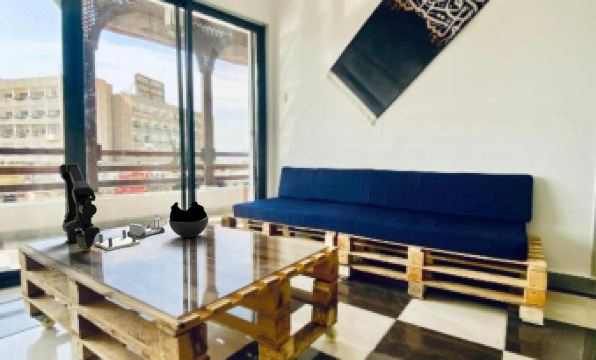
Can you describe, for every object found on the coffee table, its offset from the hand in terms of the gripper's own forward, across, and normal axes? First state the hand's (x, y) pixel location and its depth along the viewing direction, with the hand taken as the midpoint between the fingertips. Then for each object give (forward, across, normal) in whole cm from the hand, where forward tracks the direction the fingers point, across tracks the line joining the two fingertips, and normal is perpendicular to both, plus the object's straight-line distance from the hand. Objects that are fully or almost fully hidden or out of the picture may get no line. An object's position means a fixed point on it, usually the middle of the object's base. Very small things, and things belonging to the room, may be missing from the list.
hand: (86, 246), depth 158 cm
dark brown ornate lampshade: (+2, 0, 0) cm, 2 cm away
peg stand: (+2, 0, +14) cm, 14 cm away
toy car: (+3, -9, +34) cm, 35 cm away
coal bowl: (+2, +16, +44) cm, 47 cm away
